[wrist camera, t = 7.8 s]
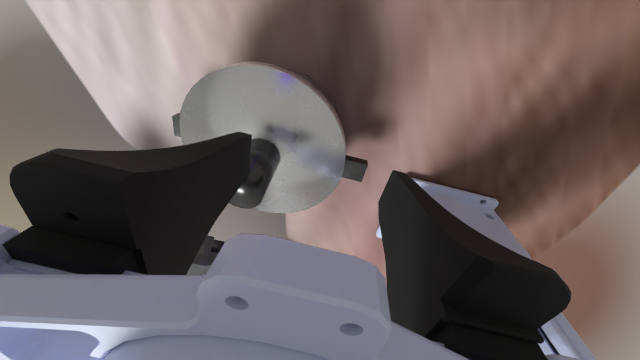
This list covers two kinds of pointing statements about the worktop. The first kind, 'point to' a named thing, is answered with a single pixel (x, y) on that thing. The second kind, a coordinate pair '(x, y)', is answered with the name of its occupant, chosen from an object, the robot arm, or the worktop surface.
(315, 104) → the lid
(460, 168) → the worktop surface
